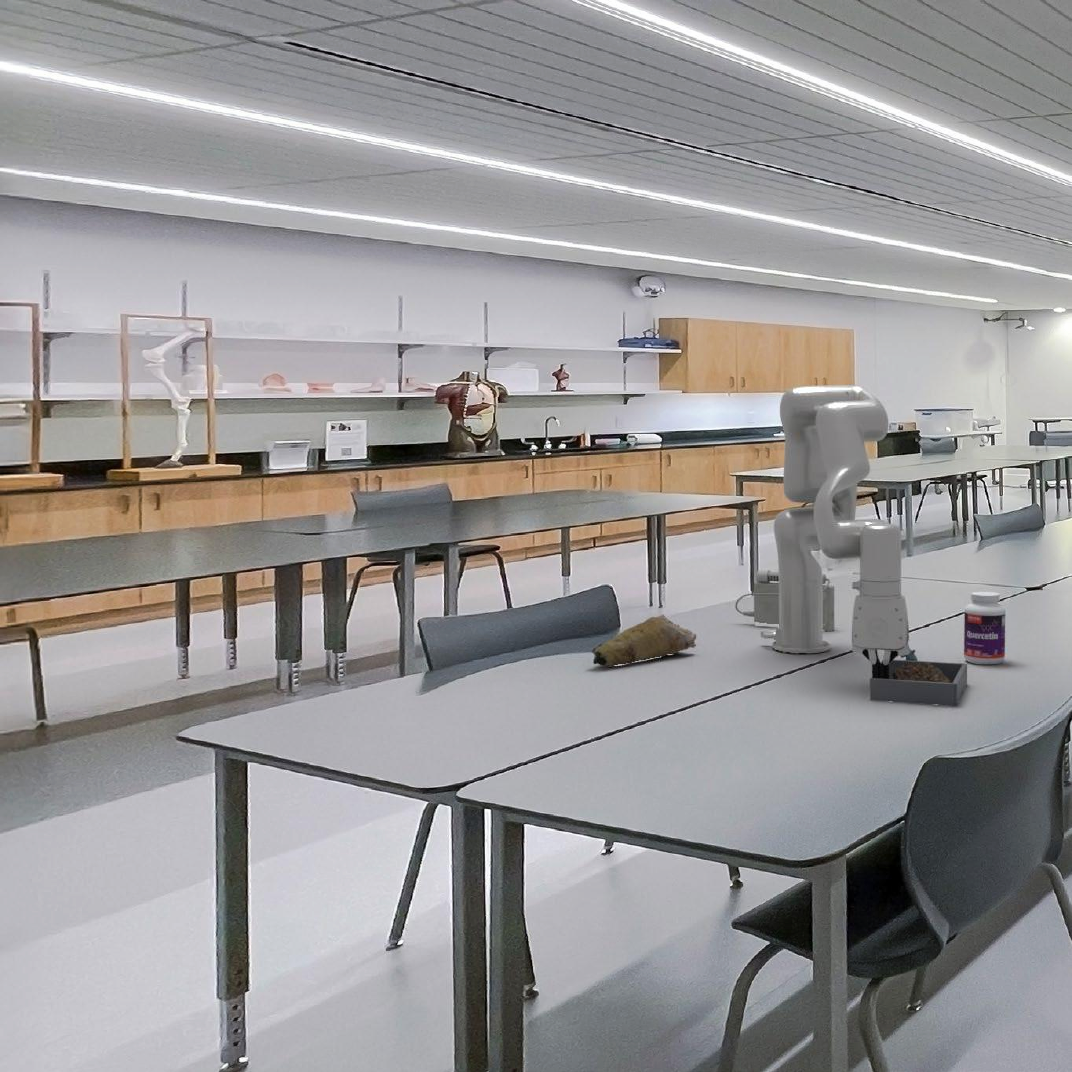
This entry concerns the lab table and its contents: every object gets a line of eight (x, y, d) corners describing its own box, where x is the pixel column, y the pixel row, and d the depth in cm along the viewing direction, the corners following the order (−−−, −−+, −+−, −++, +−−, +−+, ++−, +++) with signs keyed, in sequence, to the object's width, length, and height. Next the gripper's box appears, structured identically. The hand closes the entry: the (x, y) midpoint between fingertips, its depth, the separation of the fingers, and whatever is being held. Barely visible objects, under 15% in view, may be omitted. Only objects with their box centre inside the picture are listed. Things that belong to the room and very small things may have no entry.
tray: (870, 700, 231) (870, 678, 230) (886, 679, 248) (886, 659, 247) (956, 706, 225) (956, 684, 224) (967, 684, 241) (967, 663, 241)
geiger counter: (836, 572, 301) (740, 567, 315) (827, 575, 296) (729, 570, 309) (837, 629, 302) (740, 622, 316) (828, 633, 297) (730, 626, 311)
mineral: (609, 633, 259) (577, 635, 267) (617, 677, 259) (585, 678, 267) (693, 608, 276) (661, 611, 284) (701, 649, 277) (668, 650, 284)
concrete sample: (889, 687, 242) (889, 661, 241) (942, 686, 241) (942, 660, 241) (902, 700, 230) (902, 673, 230) (958, 700, 230) (958, 673, 229)
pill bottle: (960, 664, 259) (961, 595, 258) (967, 656, 266) (967, 589, 265) (1002, 667, 255) (1002, 597, 254) (1007, 659, 263) (1008, 591, 261)
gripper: (836, 590, 237) (837, 685, 239) (918, 593, 231) (918, 690, 232) (844, 584, 244) (844, 677, 245) (924, 587, 237) (923, 682, 239)
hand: (880, 683), depth 239 cm, fingers closed
